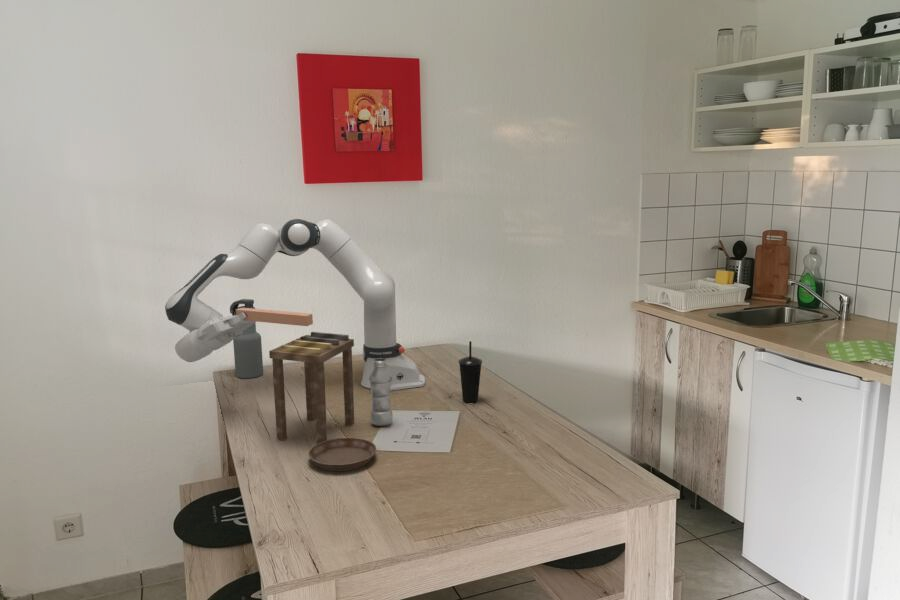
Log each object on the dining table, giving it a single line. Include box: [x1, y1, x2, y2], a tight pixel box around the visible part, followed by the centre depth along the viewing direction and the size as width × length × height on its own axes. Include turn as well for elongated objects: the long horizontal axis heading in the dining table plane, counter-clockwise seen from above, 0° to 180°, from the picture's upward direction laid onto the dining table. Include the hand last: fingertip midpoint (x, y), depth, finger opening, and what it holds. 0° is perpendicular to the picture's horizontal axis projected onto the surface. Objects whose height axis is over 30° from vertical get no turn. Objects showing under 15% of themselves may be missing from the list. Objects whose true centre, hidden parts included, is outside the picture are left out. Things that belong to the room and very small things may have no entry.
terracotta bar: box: [236, 308, 314, 327], centre depth 205 cm, size 24×3×3 cm, turn 70°
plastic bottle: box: [369, 358, 394, 427], centre depth 208 cm, size 6×7×20 cm
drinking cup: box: [458, 341, 483, 404], centre depth 227 cm, size 8×8×20 cm
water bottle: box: [229, 298, 264, 380], centre depth 255 cm, size 10×10×28 cm
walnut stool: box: [268, 331, 355, 445], centre depth 202 cm, size 16×19×28 cm
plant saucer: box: [307, 437, 377, 472], centre depth 185 cm, size 18×18×3 cm
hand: (250, 313), depth 208 cm, fingers closed on terracotta bar, 3 cm apart
